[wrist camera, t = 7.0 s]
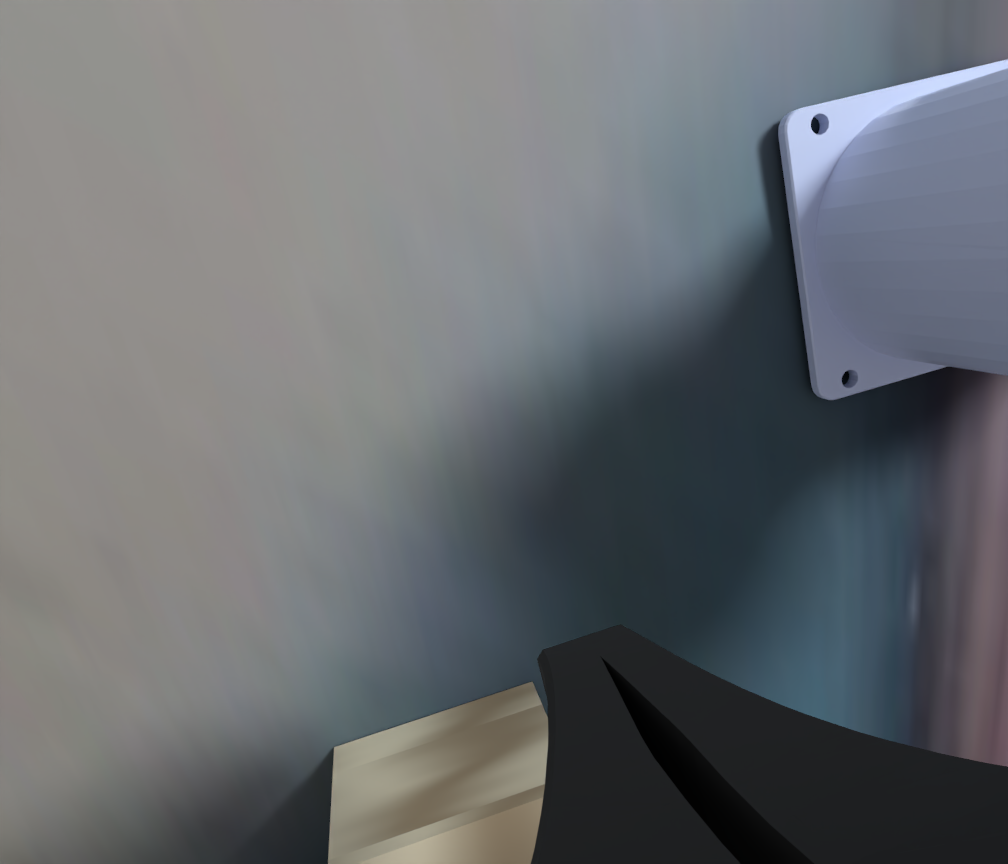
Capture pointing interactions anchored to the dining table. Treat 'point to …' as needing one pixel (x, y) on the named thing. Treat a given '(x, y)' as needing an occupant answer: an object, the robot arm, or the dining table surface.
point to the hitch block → (444, 786)
